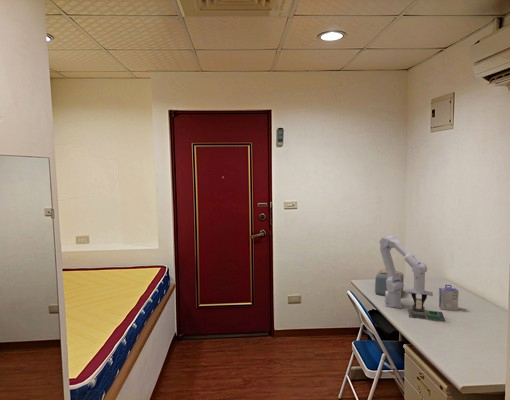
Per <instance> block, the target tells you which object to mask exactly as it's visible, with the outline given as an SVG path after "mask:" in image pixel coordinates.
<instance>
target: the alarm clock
mask: <svg viewBox="0 0 510 400" xmlns="http://www.w3.org/2000/svg"><path fill="white" fill-rule="evenodd" d="M395 271H396V274H397V276H398V277H400V279H401V281H402V282H403V283H404V278H405V276H404V273H403V272H401V271H397V270H395ZM387 278H388V275H387V272H386V269H380V270H379V271H378V273H377V274H376V276H375V281H374V282H375V284H374V287H375V288H374V293H375V294H376V295H380V296H385V293H386V291H388V290H387V287H386V285H387V283H386V280H387ZM403 292H404V288H403V289H402V291H401V294H403Z"/></svg>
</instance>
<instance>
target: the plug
mask: <svg viewBox="0 0 510 400" xmlns="http://www.w3.org/2000/svg"><path fill="white" fill-rule="evenodd" d="M415 308H416V309H422V298H418V297H416V306H415Z"/></svg>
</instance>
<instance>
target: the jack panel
mask: <svg viewBox="0 0 510 400" xmlns="http://www.w3.org/2000/svg"><path fill="white" fill-rule="evenodd" d="M407 313H408V314H409V315H408V318H410V317H412V318H413V319H418V318H419V319H420V320H426V319H427V321H428V320H429V321H436V322H443V323H445V322H446V319H445V317H444V314H443V312H442V311H437V310H430V309H429V310H428V309H427V310H426V309H425V307H424V305H423V307H422V309H416V308H415V305H414V304H412V305H411V308H409V307H407ZM419 319H418V320H419Z"/></svg>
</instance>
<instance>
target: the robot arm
mask: <svg viewBox="0 0 510 400" xmlns="http://www.w3.org/2000/svg"><path fill="white" fill-rule="evenodd" d="M379 245H380V247H379V248H380V249H379V250H380V255H381V257H382V261H383V264H384V268H385V270H386V272H387V275H388V278H387V280H386V283H387V285H386V287H387V290H388V291H386V293H385V299H384V305H385V307H389V308H399V309H402V299H401V298H402V293H401V291H402V289H403V290H404V287H405V286H404V281H403V282H402V281H401V279H400V277H398V276H397V274H396V271H397V270H396V267H395V264H394V261H393V257H392V254H391V250H393V249H395V250H396V251H397V252H398V253H399V254H400V255H402V256H403V257H404V261H405V262H406V263H407V265H409V267H411V270H412V272H413V278H414V279H413V289H408V288H407V289H405V294H410V295H411V298H412V299H413V303H414V304H413V305H415V306H416V298H417V295H420V296H421V300H422V307H423V306H424V305H425V304H424V303H425V301H426V300H427V298H428V296H430V297H433V296H434V295H433V293H434V292H433V291H428V290H425V286H426V285H425V284H426V272H427V271H428V267H427V264H426V263H424V262H421V260H419V259H418V258H417V257H416V255H414V254H412V253H409V252H408V250H407V249H406V248H405V247H404V246H403V245H402V244H401V242H400V239H399V238H398V237H397V236H396V235H394V234H391V235H388V236H383V237H381V238H380V239H379Z"/></svg>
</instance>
